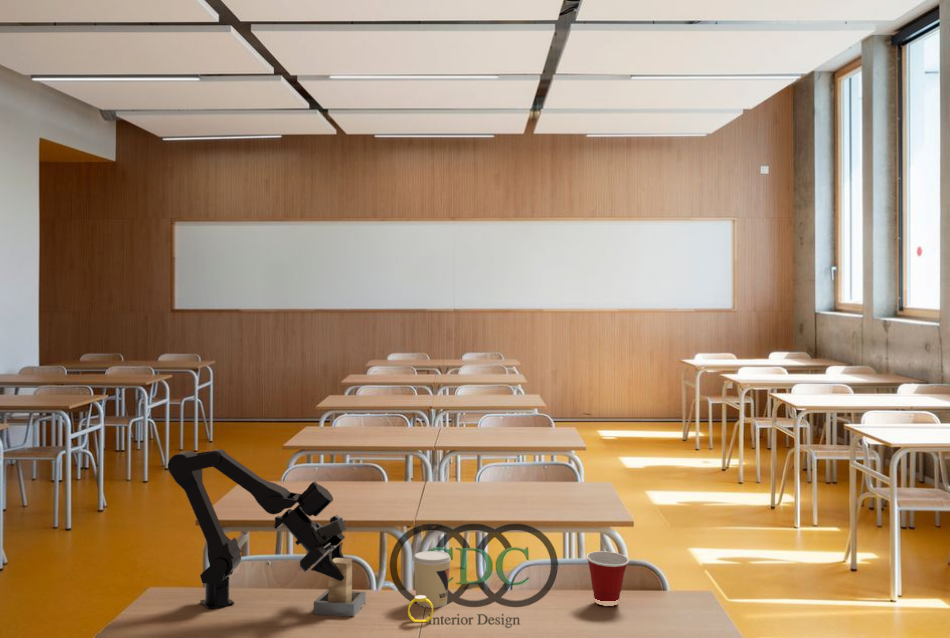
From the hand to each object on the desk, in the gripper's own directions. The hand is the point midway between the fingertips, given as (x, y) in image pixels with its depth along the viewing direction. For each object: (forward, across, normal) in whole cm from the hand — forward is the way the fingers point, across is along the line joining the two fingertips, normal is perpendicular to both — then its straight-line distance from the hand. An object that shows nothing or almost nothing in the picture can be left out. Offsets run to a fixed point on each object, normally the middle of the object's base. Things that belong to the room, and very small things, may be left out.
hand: (345, 576), depth 214 cm
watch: (+20, -5, -8) cm, 22 cm away
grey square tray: (+5, 0, +7) cm, 8 cm away
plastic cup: (+50, +17, -39) cm, 66 cm away
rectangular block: (+5, 0, +7) cm, 8 cm away
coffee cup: (+20, +9, -8) cm, 23 cm away
